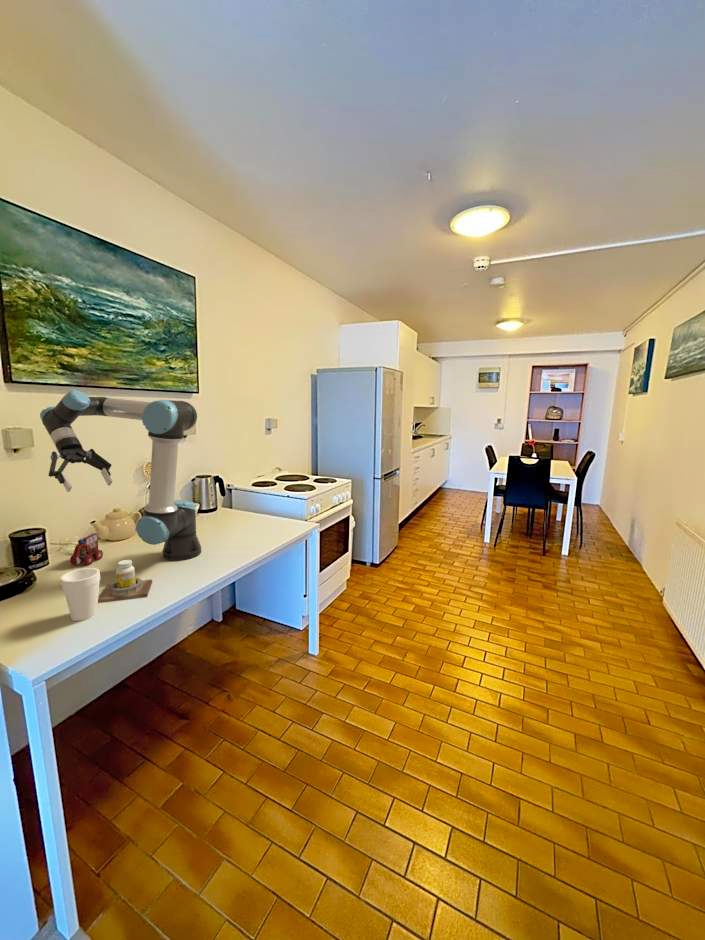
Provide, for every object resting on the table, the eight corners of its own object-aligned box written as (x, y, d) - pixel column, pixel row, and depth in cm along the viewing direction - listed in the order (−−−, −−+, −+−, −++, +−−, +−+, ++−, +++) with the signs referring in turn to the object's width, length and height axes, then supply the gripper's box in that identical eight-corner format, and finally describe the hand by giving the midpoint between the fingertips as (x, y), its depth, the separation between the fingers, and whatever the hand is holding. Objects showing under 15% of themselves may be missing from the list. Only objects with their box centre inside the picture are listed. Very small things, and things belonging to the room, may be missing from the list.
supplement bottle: (136, 590, 129) (134, 563, 128) (118, 594, 126) (115, 566, 125) (135, 583, 134) (133, 557, 132) (117, 587, 131) (115, 560, 129)
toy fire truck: (66, 568, 147) (63, 542, 145) (90, 555, 159) (88, 531, 158) (83, 569, 147) (80, 543, 145) (106, 556, 159) (104, 532, 157)
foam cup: (109, 607, 120) (106, 568, 118) (90, 623, 111) (86, 581, 109) (78, 607, 119) (74, 567, 117) (56, 623, 110) (52, 581, 108)
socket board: (152, 582, 137) (151, 574, 137) (147, 596, 127) (146, 588, 127) (107, 587, 133) (106, 579, 132) (98, 602, 122) (97, 593, 122)
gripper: (99, 446, 157) (122, 486, 152) (23, 451, 136) (47, 498, 131) (104, 434, 154) (128, 475, 149) (28, 437, 132) (53, 485, 127)
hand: (90, 486), depth 140 cm, fingers open, 13 cm apart
